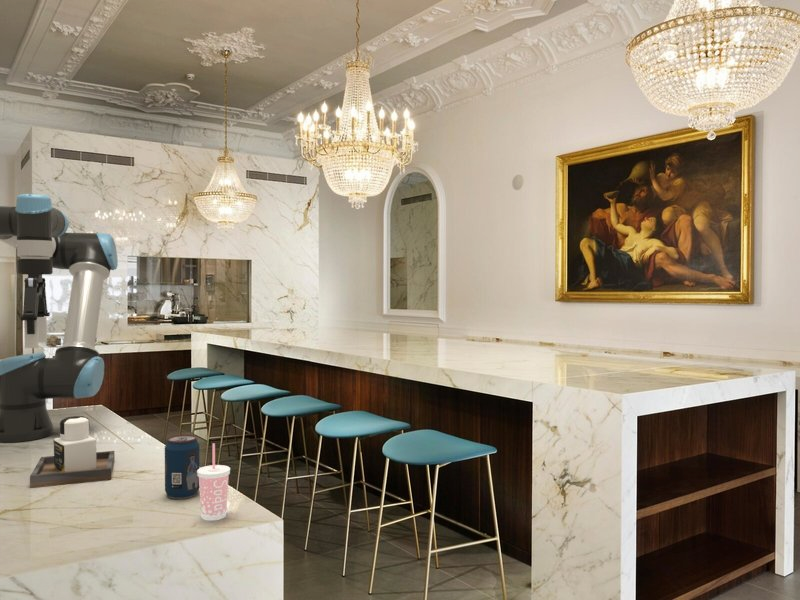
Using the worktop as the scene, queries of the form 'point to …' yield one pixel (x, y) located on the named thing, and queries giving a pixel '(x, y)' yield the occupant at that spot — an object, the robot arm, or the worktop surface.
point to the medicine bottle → (74, 446)
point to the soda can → (182, 466)
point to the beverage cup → (213, 489)
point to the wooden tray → (72, 472)
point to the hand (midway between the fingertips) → (36, 345)
